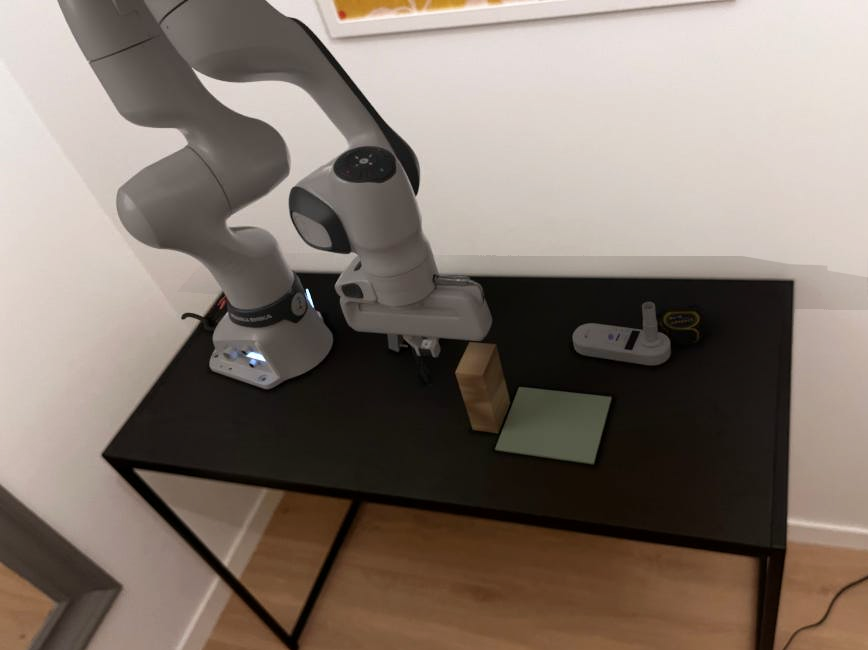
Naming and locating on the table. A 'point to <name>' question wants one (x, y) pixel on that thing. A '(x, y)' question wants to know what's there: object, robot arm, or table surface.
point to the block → (483, 387)
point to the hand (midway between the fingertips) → (429, 353)
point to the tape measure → (682, 324)
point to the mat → (555, 425)
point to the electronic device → (625, 341)
